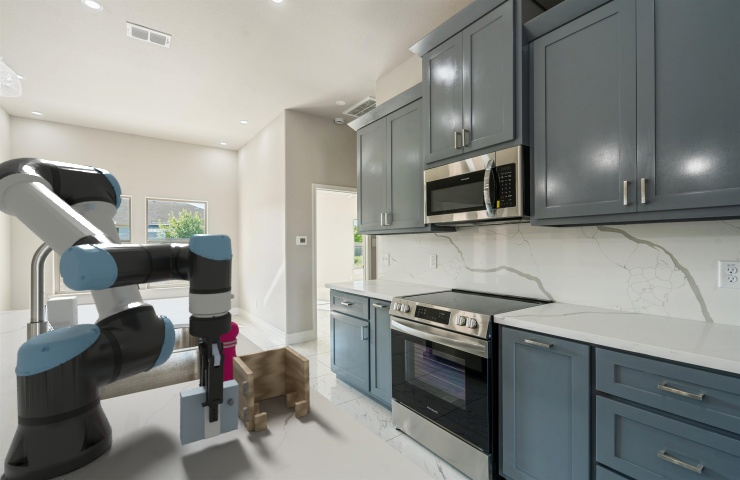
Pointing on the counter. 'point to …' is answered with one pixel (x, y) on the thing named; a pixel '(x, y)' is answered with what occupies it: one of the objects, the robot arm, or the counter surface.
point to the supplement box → (62, 312)
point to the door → (195, 412)
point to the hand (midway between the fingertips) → (210, 431)
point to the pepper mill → (229, 350)
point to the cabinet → (271, 383)
